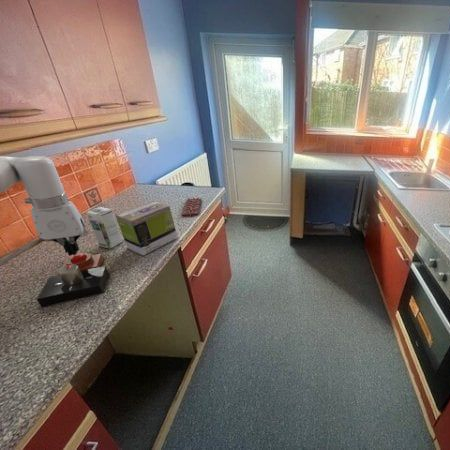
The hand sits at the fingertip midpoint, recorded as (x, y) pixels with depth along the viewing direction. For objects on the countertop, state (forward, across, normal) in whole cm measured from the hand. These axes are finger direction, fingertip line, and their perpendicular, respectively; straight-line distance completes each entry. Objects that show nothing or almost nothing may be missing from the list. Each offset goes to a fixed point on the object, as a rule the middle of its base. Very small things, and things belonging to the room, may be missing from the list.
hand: (73, 252), depth 80 cm
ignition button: (+3, +1, 0) cm, 3 cm away
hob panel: (+6, +2, -11) cm, 13 cm away
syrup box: (+6, +7, +14) cm, 17 cm away
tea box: (+6, +21, +8) cm, 24 cm away
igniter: (+6, +1, 0) cm, 7 cm away
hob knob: (+3, +2, -11) cm, 12 cm away
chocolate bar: (+6, +38, +38) cm, 54 cm away
